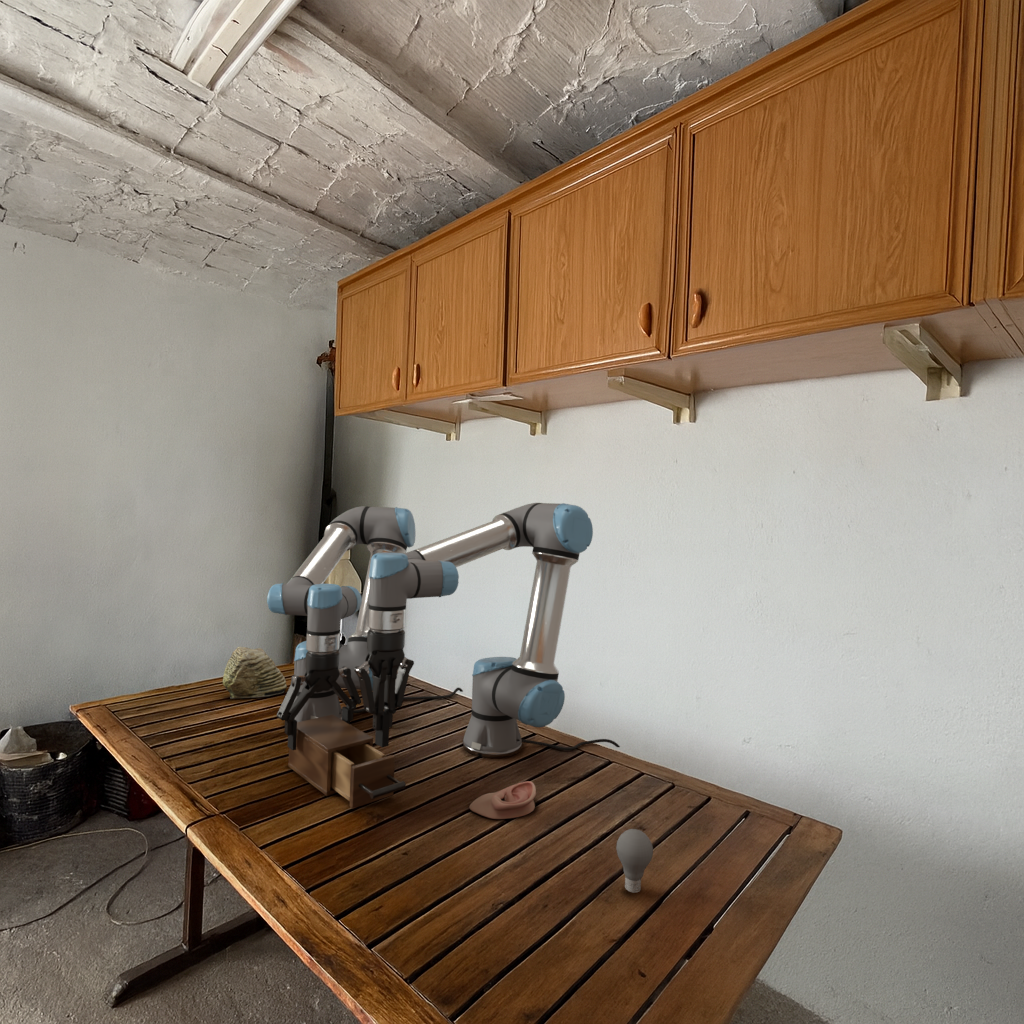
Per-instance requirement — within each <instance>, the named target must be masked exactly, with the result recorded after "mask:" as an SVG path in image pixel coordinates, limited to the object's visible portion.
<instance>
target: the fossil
mask: <svg viewBox="0 0 1024 1024" xmlns="http://www.w3.org/2000/svg"><path fill="white" fill-rule="evenodd" d="M222 676H223V677H222V685H223V687H224V688H225V690H226V691H228V693H229V698H230V699H250V698H264V697H271V696H275V695H281V694H284V693H285V691H286V689H287V687H288V686H287V680H286V678H285V676H284V674H283V673H282V672H281V669H279V668H278V667H277V665H276V663H275V662H274V660H273V659H272V658H271V657H270V656H269V655H268V654H267V653H266V652H265V650H264V649H263V648H260V647H258V648H251V647H247V646H246V647H245V646H238V647H237V648H236V649H235V650H233V651H232V653H231V656H230V657H229V659H228V660H227V663H226V666H225V668H224V671H223V675H222Z"/></svg>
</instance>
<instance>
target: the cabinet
mask: <svg viewBox="0 0 1024 1024" xmlns="http://www.w3.org/2000/svg"><path fill="white" fill-rule="evenodd" d="M364 743H367V744H368V745H370V746H372V747H373V748H374V737H373V736H371V735H369V734H367V733H366V732H364V731H362V730H361V729H359V728H357V727H356V726H353V725H352V724H351V723H350V724H348V723H346V722H345V721H343V720H341V719H339V718H338V717H336V716H334V715H329V716H324V717H319V718H315V719H310V720H306V721H301V722H297V737H296V750H292V749H290V748H289V747H288V768H290V769H291V770H293V771H294V772H295V773H296V774H297V775H299V776H300V777H301V778H303V779H304V780H305V781H307V782H308V783H309V784H310V785H312V786H313V787H314V788H316V789H317V790H318V791H320V792H321V793H322V794H323V795H325V796H326V797H329V796H332V795H334V794H339V793H338V792H336V791H335V790H334V789H332V788H331V787H330V784H331V759H332V752H334V751H338V750H342V749H345V748H349V747H353V746H357V745H361V744H364Z"/></svg>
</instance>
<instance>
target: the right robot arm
mask: <svg viewBox="0 0 1024 1024" xmlns="http://www.w3.org/2000/svg"><path fill="white" fill-rule="evenodd" d="M593 529H594V528H593V523H592V520H591V518H590V517H589V514H588V513H587V511H586V510H585V509H583V508H582V507H581V506H579V505H576V504H570V503H564V502H563V503H555V502H554V503H550V502H549V503H547V502H532V503H527V504H524V505H520V506H518V507H515V508H512V509H510V510H507V511H505V512H502V513H499V514H497V515H495V516H494V517H493V518H492V520H491V521H489V522H487V523H484V524H481V525H479V526H475V527H472V528H470V529H468V530H465V531H462V532H460V533H459V532H458V533H456V534H454V535H451V536H448V537H446V538H443V539H440V540H438V541H435V542H432V543H429V544H427V545H424V546H421V547H418V548H416V549H413V550H410V551H406V553H404V554H403V553H376V554H374V555H373V556H372V558H371V564H370V573H369V608H368V625H367V626H368V628H370V630H369V631H368V632H367V650H368V653H367V656H366V658H365V662H364V663H363V664H362V665H361V666H360V667H359V666H356V667H355V668H354V671H355V673H356V674H357V676H358V678H359V683H360V688H361V690H360V693H361V700H362V704H363V708H364V710H365V711H364V712H366V713H369V714H371V715H372V729H373V731H375V733H374V734H375V735H374V737H375V738H374V744H375V745H377V746H379V747H381V748H385V747H389V745H390V744H389V743H390V728H392V727H393V722H394V721H393V719H394V718H393V716H394V715H395V714H396V713H397V709H400V708H401V707H402V706H403V702H404V700H403V698H404V697H405V693H406V689H407V684H408V682H409V681H408V680H409V677H410V672H411V670H412V669H413V666H415V661H414V660H412V659H410V658H408V657H406V656H405V655H406V653H405V651H404V648H405V645H406V644H405V643H406V631H405V630H404V628H405V627H406V613H407V600H411V599H421V598H422V599H423V598H437V597H438V598H442V597H446V596H451V595H453V594H455V592H456V591H457V589H458V586H459V584H460V583H459V578H460V575H459V571H458V567H461V566H463V565H466V564H468V563H470V562H473V561H476V560H478V559H480V558H483V557H486V556H489V555H491V554H493V553H496V552H499V551H500V550H505V551H511V550H513V549H516V548H524V547H526V548H527V547H528V548H529V547H530V548H532V551H531V552H532V553H531V554H532V555H533V557H534V558H535V560H536V564H535V569H534V574H533V580H532V586H531V592H530V597H529V603H528V608H527V614H526V620H525V625H524V631H523V638H522V641H521V648H520V654H519V657H518V658H516V657H513V656H493V657H491V656H490V657H483V658H479V659H478V660H476V661H475V662H474V664H473V669H472V674H471V675H472V685H471V687H472V689H471V714H470V715H471V716H470V719H469V721H468V724H467V726H466V729H465V733H464V735H463V739H462V747H463V749H464V750H465V751H466V752H467V753H469V754H471V755H474V756H477V757H481V758H487V759H488V758H489V759H501V758H507V757H508V758H509V757H512V756H515V755H516V754H518V753H519V752H521V751H522V748H523V747H522V746H523V743H524V744H532V745H537V746H542V747H546V748H547V747H548V748H551V749H555V750H559V751H574V750H576V749H578V748H579V747H581V746H585V745H591V744H597V743H609V744H612V745H613V746H615V747H616V748H620V747H621V746H620V745H619V744H618V742H616V741H614V740H611V739H609V738H599V739H598V738H597V739H593V740H586V741H581V742H578V743H577V744H576V745H574V746H569V747H565V746H559V745H555V744H551V743H547V742H542V741H538V740H537V741H536V740H530V739H525V738H522V734H521V732H520V728H519V725H518V721H519V722H520V723H522V724H524V725H526V726H531V727H533V728H544V727H546V726H548V725H550V724H552V723H553V722H554V720H556V719H557V717H559V715H560V713H561V712H562V710H563V707H564V704H565V697H566V694H565V691H564V688H563V686H562V684H561V683H560V682H559V681H558V679H559V675H560V670H559V669H558V668H557V666H556V664H555V660H556V655H557V649H558V644H559V638H560V633H561V626H562V620H563V615H564V609H565V603H566V598H567V592H568V587H569V581H570V575H571V568H572V567H573V566H574V565H575V564H577V563H578V562H579V560H580V559H579V557H580V555H581V553H583V552H586V551H587V549H588V547H590V545H591V543H592V540H593V536H594V530H593ZM369 668H370V670H371V671H372V678H373V691H372V686H371V681H370V677H369V675H368V674H369V673H370V672H369Z"/></svg>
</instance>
